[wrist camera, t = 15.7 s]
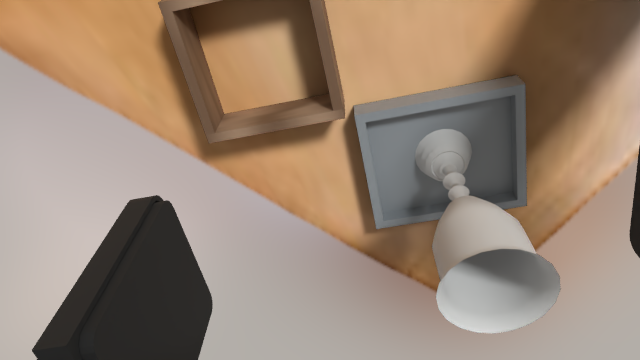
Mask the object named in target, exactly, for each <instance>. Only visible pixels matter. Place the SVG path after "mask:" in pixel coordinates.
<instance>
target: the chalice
mask: <svg viewBox="0 0 640 360" xmlns="http://www.w3.org/2000/svg"><path fill="white" fill-rule="evenodd" d="M471 154H472V148H471V143H470V142H469V140H468V138H467V137H466V136H465V135H463V134H462V133H461V132H459V131H456V130H453V129H441V130H437V131H434V132H432V133H430V134H428V135H426V136H425V137H424V138H423V139H422V140H421V141H420V143H419V145H418V147H417V148H416V153H415V159H416V164H417V166H418V167H419V169H420V170H421V171H422V172H423V173H425V174H426V175H428V176H430V177H431V178H433V179H435V180H438V181H443V186H444V187H445V188H446V189H448V190H450V191H449V193H448V197H449V199H450V200H452V202H450V204H449V205H448V207H447V208H446V210H445V212H444V213H443V215H442V217H441V218H440V220H439V222H438V225H437V228H436V232H435V235H434V240H433V244H432V249H433V254H434V258H435V262H436V266H437V270H438V274H439V278H440V283H439V286H438V290H437V294H436V300H437V304H438V309H439V311H440V312H441V313H442V314H443V316H444V317H445V318H446V319H447V321H449V322H451V323H453V324H454V325H456V326H458V327H459V328H462V329H465V330H469V331H473V332H476V333H499V332H507V331H512V330H515V329H518V328H521V327H524V326H526V325H529V324H531V323H532V322H534V321H536V320H537V319H539V318H540V317H542V316H543V315H545V314H546V312H547V311H548V310H549V309H550V308H551V307H552V306H553V305H554V304H555V302H556V299H557V297H558V295H559V292H560V276H559V274H558V273H557V271H556V269H555V268H554V266H553V265H552V264H551V263H550V262H548V261H547V260H545V259H544V258H543V257H541V256H540V255H538V254H537V253H536V251H535V249H534V247H533V246H532V244H531V242H530V240H529V238H528V236H527V234H526V232H525V231H524V229H523V227H522V226H521V224H520V223H519V221H518V220H517V219H516V218H514V217H513V216H511V215H510V214H509V213H507V212H506V211H504V210H503V209H501V208H500V207H498V206H497V205H495V204H493V203H490V202H488V201H485V200H483V199H480V198H477V197H474V196H469V189H468V188H467V187H465V186H463V185H464V184H465V177H464V176H463V175H462V174H463V173H464V172H465V171H466V169H467V167H468V164H469V161H470V159H471Z"/></svg>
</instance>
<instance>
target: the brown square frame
mask: <svg viewBox="0 0 640 360" xmlns="http://www.w3.org/2000/svg"><path fill="white" fill-rule="evenodd" d="M217 1H221V0H161V1H160V2H158V4H159V7H160V10H161V13H162V15H163V18H164V21H165V24H166V26H167V29H168V32H169V35H170V37H171V40H172V43H173V46H174V49H175V51H176V54H177V57H178V60H179V62H180V65H181V68H182V71H183V73H184V76H185V79H186V82H187V85H188V87H189V90H190V93H191V96H192V98H193V101H194V104H195V107H196V109H197V112H198V115H199V118H200V121H201V123H202V126H203V129H204V132H205V134H206V137H207V140H208V143H214V142H220V141H225V140H230V139H236V138H241V137H247V136H252V135H257V134H263V133H268V132H273V131H279V130H284V129H290V128H295V127H300V126H306V125H311V124H317V123H322V122H327V121H333V120H338V119H344V118H345V104H344V96H343V91H342V86H341V81H340V76H339V71H338V66H337V61H336V56H335V51H334V46H333V41H332V36H331V31H330V26H329V21H328V16H327V11H326V7H325V2H324V0H309V1H310V6H311V10H312V15H313V19H314V24H315V29H316V33H317V38H318V43H319V47H320V52H321V56H322V61H323V66H324V70H325V75H326V80H327V84H328V89H329V93H330V94H326V95H321V96H316V97H311V98H305V99H300V100H295V101H290V102H285V103H279V104H274V105H269V106H264V107H259V108H254V109H248V110H243V111H238V112H233V113H228V114H224V112H223V109H222V106H221V103H220V100H219V97H218V94H217V91H216V88H215V85H214V82H213V79H212V76H211V73H210V70H209V67H208V64H207V61H206V58H205V55H204V52H203V49H202V46H201V43H200V40H199V37H198V34H197V31H196V28H195V25H194V22H193V19H192V16H191V13H190V10H189V8H190V7H195V6H199V5H204V4H208V3H212V2H217Z"/></svg>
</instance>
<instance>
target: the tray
mask: <svg viewBox="0 0 640 360" xmlns="http://www.w3.org/2000/svg"><path fill="white" fill-rule="evenodd" d="M354 116H355V121H356V127H357V132H358V137H359V142H360V147H361V152H362V157H363V162H364V168H365V173H366V178H367V183H368V188H369V193H370V198H371V204H372V209H373V214H374V219H375V224H376V229H380V228H387V227H393V226H400V225H406V224H412V223H419V222H425V221H432V220H438V219H440V218H441V217H442V215H443V213H444V212H445V210H446V208H447V207H448V205H449V204H450V202H452V200H450V199H449V197H448V193H449V191H450V190H448V189H446V188H445V187H444V186H443V181H438V180H435V179H433V178H431V177H430V176H428V175H426V174H425V173H423V172H422V171H421V170H420V169H419V167H418V166H417V164H416V159H415V153H416V148H417V147H418V145H419V143H420V141H421V140H422V139H423V138H424V137H425V136H426V135H428V134H430V133H432V132H434V131H437V130H441V129H453V130H456V131H459V132H461V133H462V134H463V135H465V136H466V137H467V138H468V140H469V142H470V143H471V148H472V154H471V159H470V161H469V164H468V167H467V169H466V171H465V172H464V173H463V174H462V175H463V176H464V177H465V184H464V185H463V186H465V187H467V188H468V189H469V196H474V197H477V198H480V199H483V200H485V201H488V202H490V203H493V204H495V205H497V206H498V207H500V208H501V209H509V208H516V207H522V206H527V180H526V92H525V83H524V82H523V81H522V80H521V79H520V77H519V76H518V75H514V76H508V77H503V78H498V79H493V80H487V81H482V82H477V83H471V84H466V85H461V86H455V87H450V88H445V89H439V90H434V91H429V92H424V93H418V94H413V95H408V96H402V97H397V98H392V99H386V100H381V101H376V102H370V103H365V104H360V105H355V106H354Z"/></svg>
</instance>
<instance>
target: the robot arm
mask: <svg viewBox="0 0 640 360" xmlns="http://www.w3.org/2000/svg"><path fill="white" fill-rule="evenodd" d="M630 241H631V244H632V247H633V249H634V251H635V253H636V254H637V255H638V256H639V258H640V147H639V155H638V164H637V173H636V183H635V191H634V199H633V208H632V217H631V226H630ZM211 313H212V297H211V294H210V291H209V289H208V286H207V284H206V282H205V280H204V277H203V275H202V273H201V270H200V268H199V266H198V263H197V261H196V259H195V256H194V254H193V252H192V249H191V247H190V245H189V242H188V240H187V238H186V235H185V233H184V231H183V228H182V226H181V224H180V221H179V219H178V217H177V214H176V212H175V210H174V208H173V206H172V204H171V203H170V202H169V201H163V199H162V198H161V197H160V196H157V195H156V196H151V197H145V198H139V199H133V200H130V201H129V202H128V203H127V205H126V206H125V208H124V210H123V211H122V213H121V214H120V216H119V217H118V219H117V220H116V222H115V223H114V225H113V227H112V228H111V230H110V231H109V233H108V234H107V236H106V237H105V239H104V240H103V242H102V243H101V245H100V247H99V248H98V250H97V251H96V253H95V254H94V256H93V257H92V259H91V260H90V262H89V263H88V265H87V266H86V268H85V269H84V271H83V273H82V274H81V276H80V277H79V279H78V280H77V282H76V283H75V285H74V286H73V288H72V289H71V291H70V292H69V294H68V296H67V297H66V299H65V300H64V302H63V303H62V305H61V306H60V308H59V309H58V311H57V313H56V314H55V316H54V317H53V319H52V320H51V322H50V323H49V325H48V326H47V328H46V329H45V331H44V332H43V334H42V336H41V337H40V339H39V340H38V342H37V343H36V345H35V346H34V348H33V349H32V352H33V353H34V354H35V356H36V357H37V358H38V359H37V360H198V357H199V354H200V351H201V347H202V344H203V340H204V337H205V333H206V330H207V326H208V323H209V320H210V316H211Z"/></svg>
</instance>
